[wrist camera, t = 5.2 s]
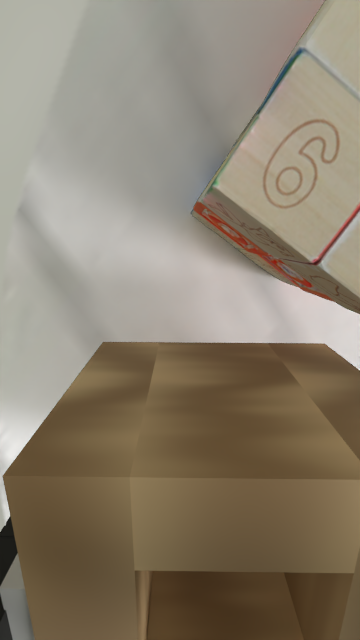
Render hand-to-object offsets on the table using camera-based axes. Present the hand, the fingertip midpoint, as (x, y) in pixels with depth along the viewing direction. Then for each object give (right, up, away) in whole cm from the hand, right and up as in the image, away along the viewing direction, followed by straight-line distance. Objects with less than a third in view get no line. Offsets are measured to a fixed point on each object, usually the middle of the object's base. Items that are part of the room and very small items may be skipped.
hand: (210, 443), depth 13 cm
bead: (0, 0, 0) cm, 0 cm away
